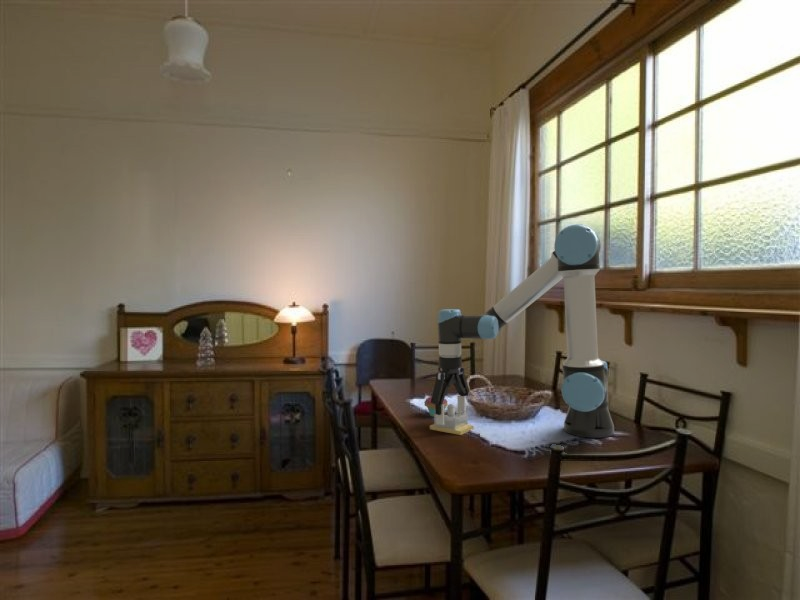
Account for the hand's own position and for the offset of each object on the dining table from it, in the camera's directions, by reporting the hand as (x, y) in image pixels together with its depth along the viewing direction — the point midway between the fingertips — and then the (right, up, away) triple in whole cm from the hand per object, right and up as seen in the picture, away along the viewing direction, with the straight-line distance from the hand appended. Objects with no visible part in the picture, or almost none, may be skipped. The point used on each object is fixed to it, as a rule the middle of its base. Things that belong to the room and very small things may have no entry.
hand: (451, 419), depth 167 cm
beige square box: (0, -2, 0) cm, 2 cm away
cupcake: (-4, -3, +18) cm, 19 cm away
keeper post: (0, -3, 0) cm, 3 cm away
